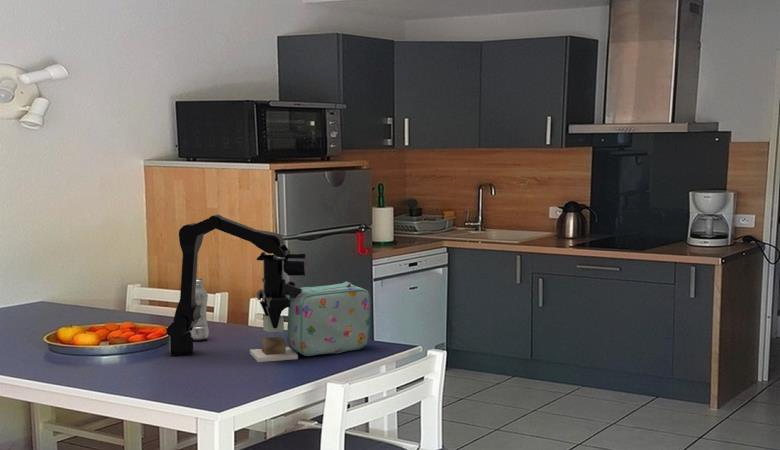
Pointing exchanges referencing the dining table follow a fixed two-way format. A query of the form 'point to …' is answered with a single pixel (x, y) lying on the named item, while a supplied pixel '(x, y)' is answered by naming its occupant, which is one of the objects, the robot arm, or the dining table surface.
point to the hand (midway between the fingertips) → (273, 326)
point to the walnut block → (273, 345)
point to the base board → (262, 357)
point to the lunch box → (329, 319)
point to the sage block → (268, 325)
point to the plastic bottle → (201, 327)
